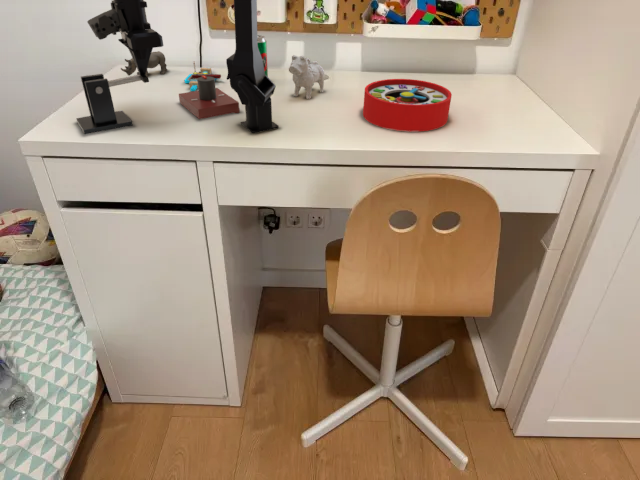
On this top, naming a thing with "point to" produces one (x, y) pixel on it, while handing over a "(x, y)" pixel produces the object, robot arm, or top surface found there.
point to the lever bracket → (100, 107)
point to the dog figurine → (306, 74)
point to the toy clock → (406, 105)
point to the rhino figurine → (153, 62)
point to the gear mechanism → (196, 75)
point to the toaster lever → (127, 80)
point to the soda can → (263, 51)
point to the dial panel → (209, 104)
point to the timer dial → (206, 88)
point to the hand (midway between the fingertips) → (142, 74)
